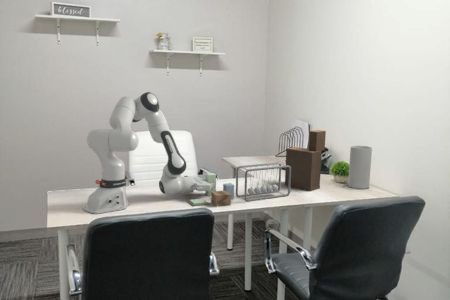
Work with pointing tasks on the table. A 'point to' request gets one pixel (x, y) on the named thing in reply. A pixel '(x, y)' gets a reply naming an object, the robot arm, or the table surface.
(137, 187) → the table surface
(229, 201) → the walnut block
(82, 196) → the table surface
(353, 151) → the cylinder vase
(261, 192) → the newton's cradle
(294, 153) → the stacked brown boxes
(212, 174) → the green pillar
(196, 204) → the green tile
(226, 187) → the slate-blue pillar
